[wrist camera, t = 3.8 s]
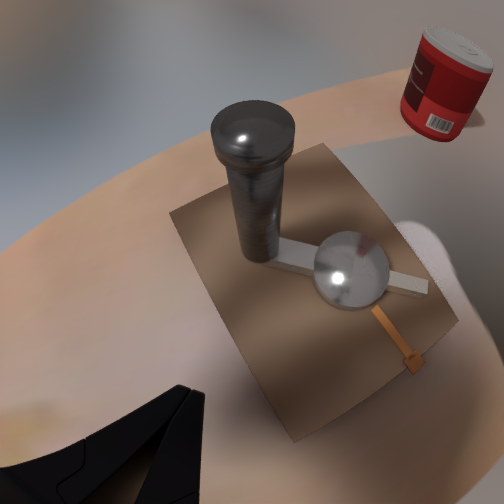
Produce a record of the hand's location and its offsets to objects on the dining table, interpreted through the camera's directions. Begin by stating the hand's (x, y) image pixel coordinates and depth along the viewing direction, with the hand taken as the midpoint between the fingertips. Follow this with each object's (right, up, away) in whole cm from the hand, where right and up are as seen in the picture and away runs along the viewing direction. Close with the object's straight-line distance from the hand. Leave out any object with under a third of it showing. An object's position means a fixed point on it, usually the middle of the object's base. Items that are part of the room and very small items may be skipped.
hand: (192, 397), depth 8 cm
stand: (+6, +3, +13) cm, 15 cm away
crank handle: (+7, +3, +11) cm, 14 cm away
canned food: (+22, +19, +20) cm, 35 cm away
